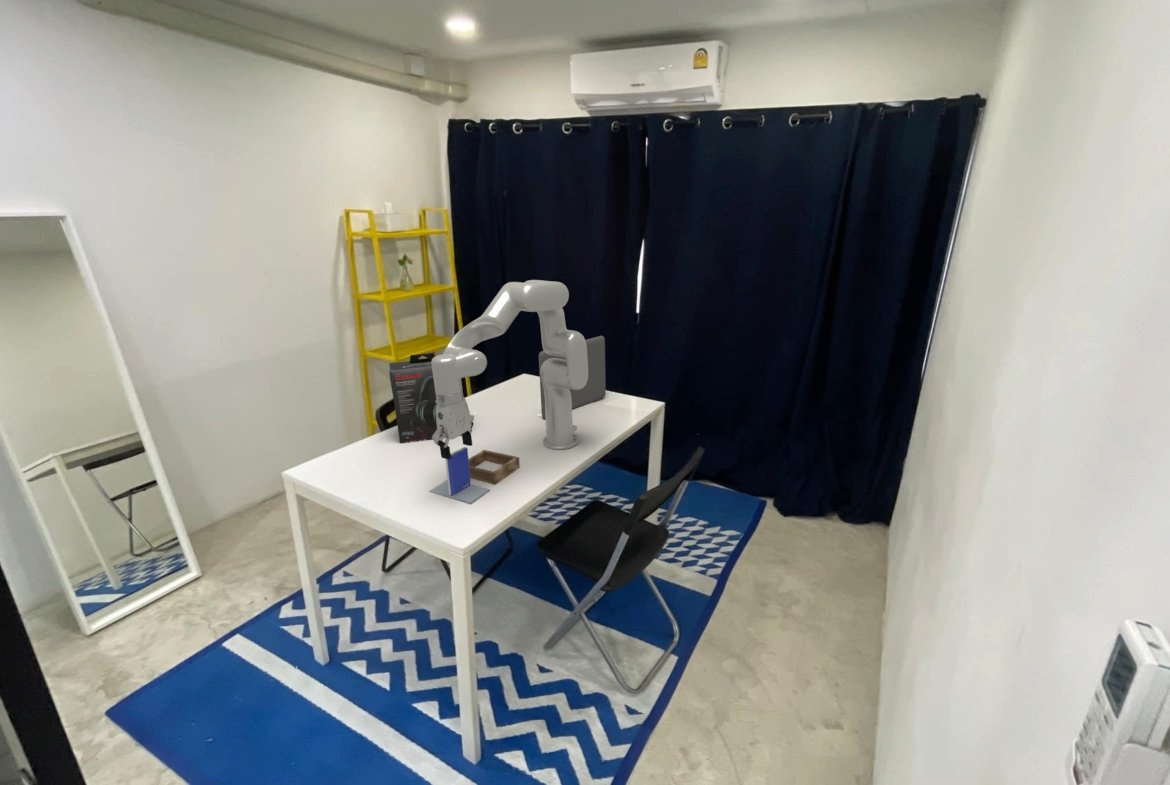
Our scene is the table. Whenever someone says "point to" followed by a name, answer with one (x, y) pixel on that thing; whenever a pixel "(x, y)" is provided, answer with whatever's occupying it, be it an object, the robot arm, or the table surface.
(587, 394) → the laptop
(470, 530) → the table surface
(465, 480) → the hard drive
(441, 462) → the table surface
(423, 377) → the headset box
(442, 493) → the mat
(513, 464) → the wooden square frame
